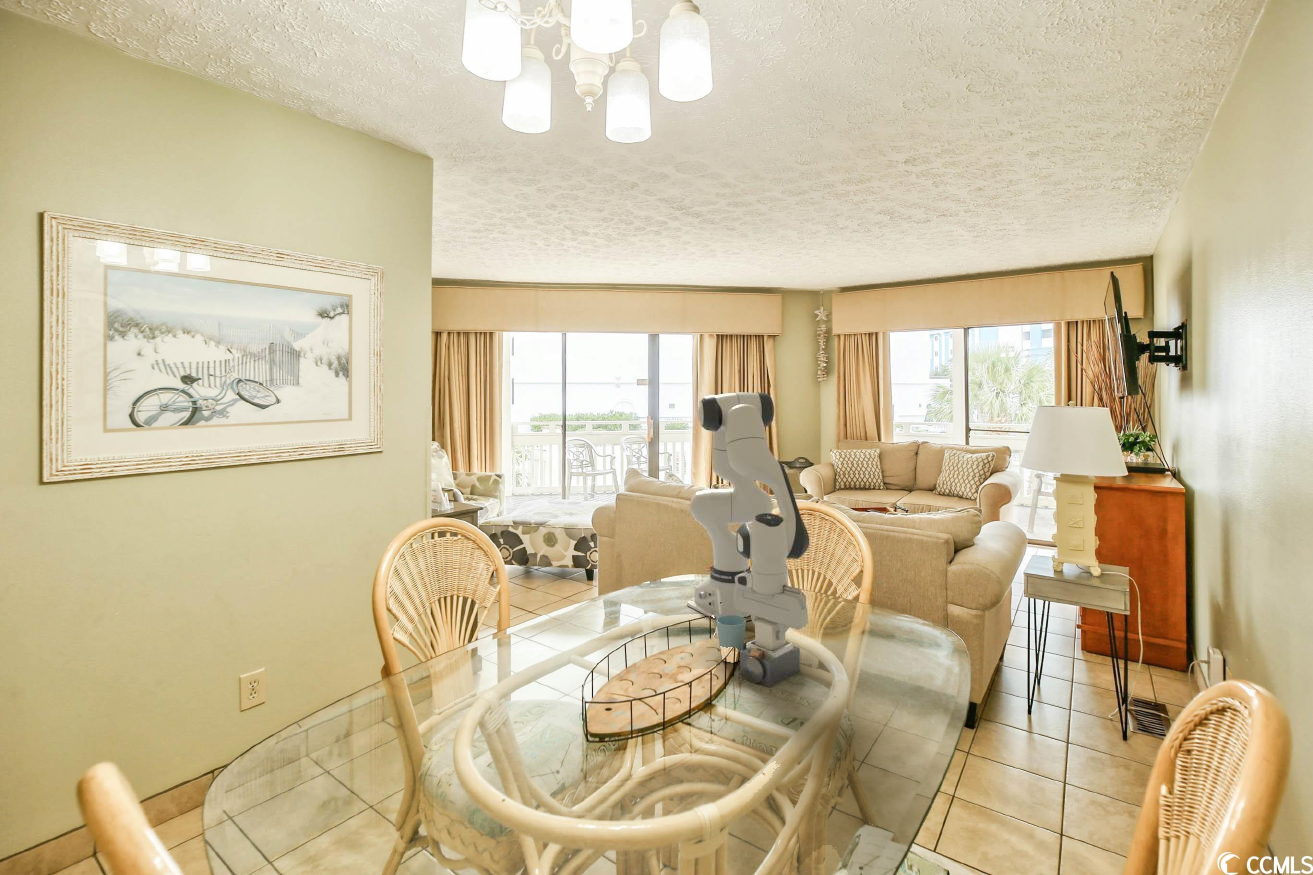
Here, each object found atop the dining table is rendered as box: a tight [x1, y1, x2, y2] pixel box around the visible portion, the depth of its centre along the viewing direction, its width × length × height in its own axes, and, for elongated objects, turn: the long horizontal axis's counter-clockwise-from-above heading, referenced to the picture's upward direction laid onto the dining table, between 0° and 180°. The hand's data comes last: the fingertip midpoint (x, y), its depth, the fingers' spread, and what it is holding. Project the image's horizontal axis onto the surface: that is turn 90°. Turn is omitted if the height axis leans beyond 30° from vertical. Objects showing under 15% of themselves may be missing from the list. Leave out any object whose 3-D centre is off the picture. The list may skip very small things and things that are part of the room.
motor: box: [739, 639, 801, 688], centre depth 152 cm, size 9×14×8 cm, turn 132°
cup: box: [715, 615, 747, 652], centre depth 160 cm, size 8×8×10 cm
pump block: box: [754, 618, 785, 651], centre depth 152 cm, size 5×6×6 cm
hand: (769, 636), depth 151 cm, fingers closed on pump block, 5 cm apart
